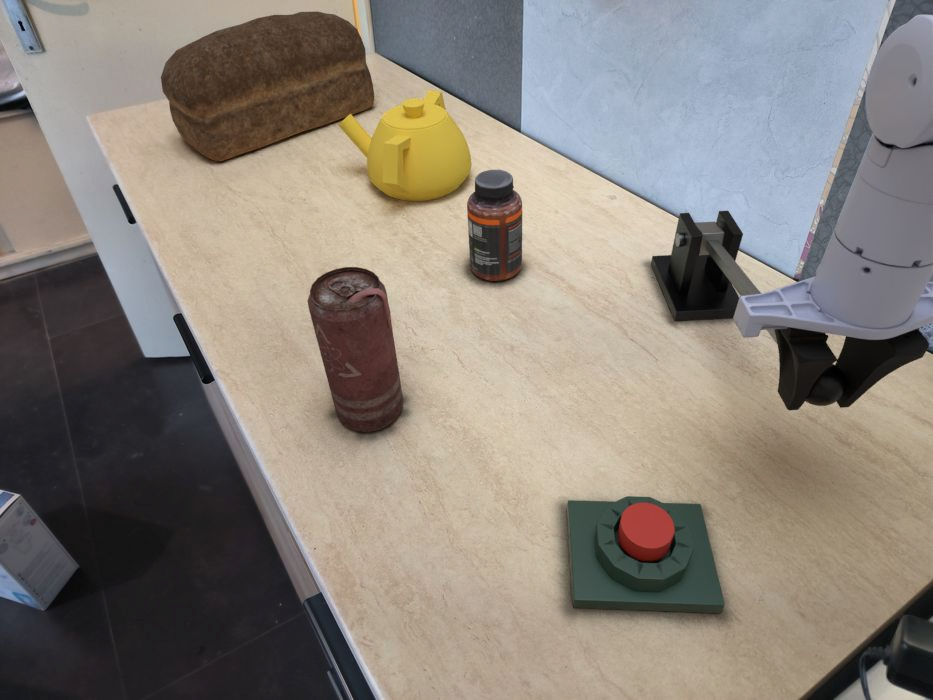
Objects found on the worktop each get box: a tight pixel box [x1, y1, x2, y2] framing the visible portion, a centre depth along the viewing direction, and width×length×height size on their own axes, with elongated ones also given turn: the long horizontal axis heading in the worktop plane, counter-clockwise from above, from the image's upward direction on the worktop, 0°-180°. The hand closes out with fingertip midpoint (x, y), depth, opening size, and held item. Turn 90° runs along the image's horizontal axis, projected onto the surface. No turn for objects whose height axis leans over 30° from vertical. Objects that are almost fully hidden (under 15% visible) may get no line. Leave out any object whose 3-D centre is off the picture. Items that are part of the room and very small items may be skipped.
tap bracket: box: [650, 210, 744, 322], centre depth 67 cm, size 10×7×8 cm
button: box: [618, 503, 675, 561], centre depth 45 cm, size 4×4×2 cm
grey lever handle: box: [694, 221, 846, 407], centre depth 56 cm, size 27×3×3 cm, turn 2°
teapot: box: [337, 89, 472, 202], centre depth 87 cm, size 20×18×11 cm
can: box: [307, 266, 404, 433], centre depth 55 cm, size 6×6×14 cm
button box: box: [566, 495, 726, 614], centre depth 46 cm, size 10×8×3 cm
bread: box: [160, 10, 375, 162], centre depth 102 cm, size 15×32×16 cm, turn 130°
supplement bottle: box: [466, 169, 523, 282], centre depth 71 cm, size 6×6×11 cm
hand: (813, 398), depth 47 cm, fingers closed on grey lever handle, 3 cm apart
